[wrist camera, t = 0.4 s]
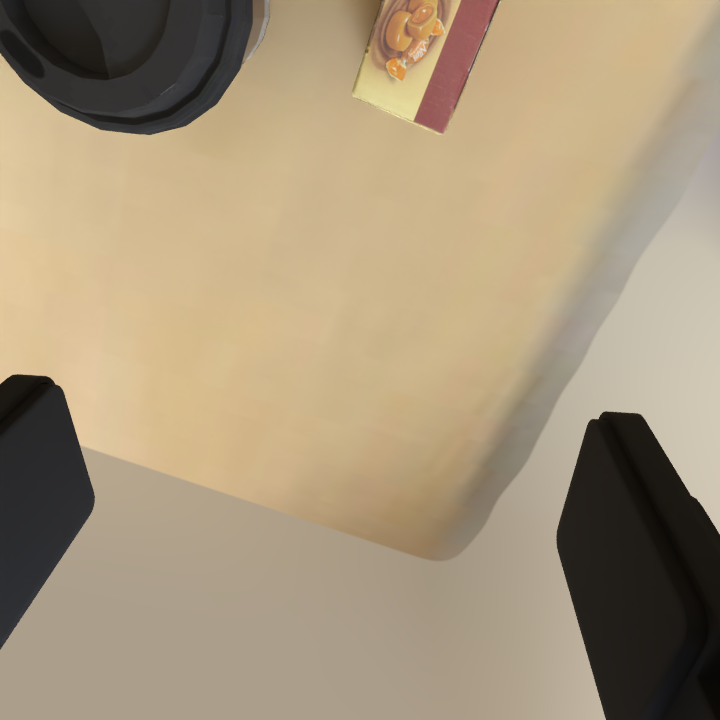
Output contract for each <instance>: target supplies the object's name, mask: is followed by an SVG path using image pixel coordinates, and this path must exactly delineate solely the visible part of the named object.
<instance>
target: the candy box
mask: <svg viewBox="0 0 720 720" xmlns="http://www.w3.org/2000/svg"><path fill="white" fill-rule="evenodd" d="M500 2H501V0H381V3H380V6H379V9H378V12H377V15H376V19H375V22H374V25H373V28H372V31H371V34H370V38H369V41H368V44H367V47H366V50H365V54H364V57H363V60H362V63H361V66H360V69H359V72H358V75H357V78H356V81H355V84H354V87H353V90H352V96H354V97H355V98H357V99H360V100H362V101H364V102H366V103H369V104H371V105H373V106H375V107H377V108H379V109H382V110H384V111H386V112H388V113H391V114H393V115H395V116H397V117H400V118H402V119H404V120H406V121H409V122H411V123H413V124H416V125H418V126H420V127H422V128H424V129H427V130H429V131H431V132H434V133H436V134H439V135H444V134H445V132H446V130H447V128H448V126H449V124H450V121H451V119H452V117H453V114H454V112H455V110H456V107H457V105H458V103H459V100H460V98H461V96H462V93H463V91H464V89H465V86H466V84H467V81H468V79H469V77H470V74H471V72H472V69H473V67H474V64H475V62H476V60H477V57H478V55H479V52H480V50H481V47H482V45H483V43H484V40H485V38H486V35H487V33H488V31H489V28H490V26H491V23H492V21H493V19H494V16H495V14H496V12H497V9H498V7H499V4H500Z"/></svg>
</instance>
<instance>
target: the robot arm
mask: <svg viewBox="0 0 720 720" xmlns="http://www.w3.org/2000/svg"><path fill="white" fill-rule="evenodd" d="M94 498H95V496H94V492H93V488H92V485H91V482H90V478H89V475H88V472H87V468H86V465H85V462H84V458H83V455H82V452H81V448H80V445H79V442H78V438H77V435H76V432H75V428H74V425H73V422H72V418H71V415H70V412H69V408H68V405H67V402H66V398H65V395H64V392H63V390H62V388H61V387H60V386H58V385H55V383H54V381H53V380H52V379H51V378H49V377H47V376H34V375H18V374H17V375H12V376H10V377H9V378H7V379H6V380H5V381H4V382H2V383H1V384H0V649H1V647H2V646H3V645H4V643H5V642H6V640H7V639H8V637H9V636H10V634H11V633H12V631H13V630H14V628H15V627H16V625H17V623H18V622H19V621H20V619H21V618H22V616H23V615H24V613H25V612H26V610H27V609H28V607H29V606H30V604H31V603H32V601H33V600H34V598H35V597H36V595H37V594H38V592H39V591H40V589H41V588H42V586H43V585H44V583H45V582H46V580H47V579H48V577H49V576H50V574H51V573H52V571H53V570H54V568H55V567H56V565H57V564H58V562H59V561H60V559H61V558H62V556H63V555H64V553H65V552H66V550H67V549H68V547H69V546H70V544H71V543H72V541H73V540H74V538H75V537H76V535H77V534H78V532H79V531H80V529H81V528H82V526H83V524H84V523H85V522H86V520H87V519H88V517H89V516H90V514H91V512H92V510H93V506H94V501H95V500H94ZM557 549H558V553H559V556H560V560H561V563H562V567H563V570H564V574H565V577H566V581H567V584H568V588H569V591H570V595H571V598H572V602H573V605H574V609H575V612H576V616H577V620H578V623H579V627H580V630H581V634H582V637H583V640H584V644H585V647H586V651H587V655H588V658H589V662H590V665H591V669H592V672H593V675H594V679H595V683H596V686H597V690H598V693H599V697H600V700H601V704H602V707H603V711H604V714H605V718H606V720H720V534H719V533H718V531H717V529H716V528H715V526H714V525H713V523H712V521H711V520H710V518H709V516H708V515H707V513H706V512H705V510H704V508H703V507H702V506H701V504H700V503H699V502H698V500H697V499H696V498H694V497H692V496H691V495H690V493H689V492H688V490H687V488H686V487H685V485H684V483H683V482H682V480H681V478H680V477H679V475H678V474H677V472H676V470H675V469H674V467H673V465H672V464H671V462H670V460H669V459H668V457H667V456H666V454H665V452H664V450H663V449H662V447H661V446H660V444H659V442H658V441H657V439H656V438H655V436H654V434H653V432H652V431H651V429H650V427H649V426H648V424H647V422H646V421H645V419H644V418H643V417H642V416H641V415H640V414H636V413H621V412H603V413H602V414H601V415H600V417H599V419H592V420H590V421H589V423H588V425H587V428H586V432H585V435H584V439H583V442H582V446H581V449H580V452H579V456H578V459H577V463H576V466H575V470H574V473H573V477H572V480H571V484H570V487H569V491H568V494H567V497H566V501H565V504H564V508H563V511H562V515H561V518H560V522H559V525H558V529H557Z"/></svg>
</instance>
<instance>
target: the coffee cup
mask: <svg viewBox="0 0 720 720" xmlns="http://www.w3.org/2000/svg"><path fill="white" fill-rule="evenodd" d="M268 20H269V0H0V53H1V55H2V56H3V57H4V58H5V60H6V61H7V62H8V63H9V65H10V66H11V67H12V69H13V70H15V72H16V73H17V74H18V76H19V77H20V78H21V79H22V81H23V82H24V83H25V84H27V85H28V86H29V87H30V88H32V89H33V90H34V91H35V92H37V93H38V94H39V95H40V96H42V97H43V98H44V99H45V100H47V101H48V102H49V103H50V104H51V105H53V106H54V107H55V108H56V109H58V110H59V111H60V112H62V113H64V114H67V115H69V116H71V117H73V118H76V119H78V120H80V121H82V122H85V123H87V124H89V125H91V126H94V127H96V128H98V129H100V130H106V131H115V132H124V133H133V134H146V135H151V134H155V133H159V132H163V131H167V130H171V129H176V128H180V127H184V126H187V125H188V124H189V123H191V122H192V121H194V120H195V119H196V118H198V117H199V116H201V115H202V114H203V113H205V112H206V111H208V110H209V109H210V108H212V107H213V106H215V105H216V104H217V103H218V102H219V100H220V99H221V97H222V96H223V94H224V93H225V91H226V90H227V88H228V87H229V85H230V84H231V82H232V81H233V79H234V78H235V76H236V75H237V73H238V72H239V70H240V68H241V65H242V64H243V63H244V62H245V61H246V60H247V59H249V58H250V57H251V56H252V54H253V53H254V51H255V50H256V48H257V47H258V46H259V44H260V43H261V41H262V40H263V37H264V34H265V30H266V27H267V23H268Z"/></svg>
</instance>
